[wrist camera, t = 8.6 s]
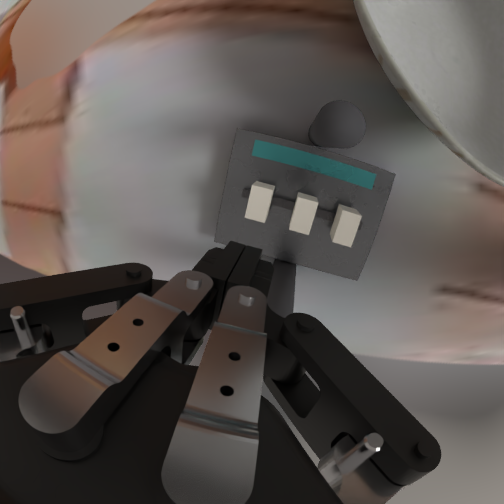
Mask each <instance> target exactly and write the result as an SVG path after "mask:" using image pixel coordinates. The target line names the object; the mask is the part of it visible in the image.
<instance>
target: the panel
mask: <svg viewBox="0 0 504 504" xmlns="http://www.w3.org/2000/svg"><path fill="white" fill-rule="evenodd" d="M394 178H395V174H394V173H391V172H388V171H386V170H383V169H380V168H378V167H375V166H372V165H369V164H367V163H364V162H361V161H358V160H355V159H352V158H349V157H346V156H343V155H340V154H337V153H333V152H330V151H327V150H323V149H320V148H317V147H313V146H309V145H306V144H302V143H298V142H295V141H291V140H287V139H283V138H279V137H274V136H270V135H266V134H261V133H257V132H252V131H247V130H242V129H237V131H236V135H235V140H234V144H233V149H232V153H231V158H230V163H229V168H228V172H227V177H226V182H225V187H224V192H223V197H222V202H221V207H220V213H219V218H218V223H217V229H216V234H215V240H214V242H218V243H221V244H225V245H227V244H228V243H229V242H230V241H234V242H238V243H242V244H245V245H246V246H247V245H249V246H253V247H256V248H260V249H263V250H262V255H265V256H269V257H273V258H276V259H280V260H283V261H287V262H291V263H294V264H298V265H302V266H305V267H309V268H313V269H316V270H320V271H324V272H327V273H331V274H334V275H338V276H342V277H345V278H349V279H353V280H356V281H357V280H358V278H359V276H360V273H361V271H362V268H363V266H364V264H365V261H366V259H367V256H368V253H369V251H370V248H371V246H372V243H373V240H374V238H375V235H376V232H377V230H378V227H379V224H380V221H381V218H382V215H383V212H384V209H385V206H386V203H387V200H388V197H389V194H390V191H391V188H392V184H393V181H394ZM256 181H258V182H262V183H266V184H270V185H274V186H275V189H274V193H273V197H272V201H271V205H270V209H269V213H268V216H267V219H266V221H265V223H263V222H259V221H255V220H251V219H247V218H245V214H246V209H247V205H248V200H249V196H250V191H251V187H252V184H254V183H255V182H256ZM298 192H300V193H304V194H307V195H311V196H314V197H317V200H318V206H317V210H316V213H315V216H314V220H313V223H312V226H311V230H310V233H309V235H306V234H303V233H299V232H296V231H292V230H289V226H290V220H291V216H292V213H293V209H294V206H295V202H296V198H297V195H298ZM339 204H341V205H344V206H347V207H350V208H354V209H357V211H358V212H359V213H360V214H361V216H362V217H361V220H360V223H359V226H358V229H357V232H356V235H355V238H354V240H353V243H352V246H351V247H348V246H344V245H341V244H338V243H334V242H332V239H331V236H330V231H331V228H332V225H333V221H334V218H335V215H336V212H337V209H338V206H339Z"/></svg>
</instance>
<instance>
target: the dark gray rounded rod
mask: <svg viewBox="0 0 504 504" xmlns="http://www.w3.org/2000/svg"><path fill="white" fill-rule="evenodd" d="M365 130H366V123H365V119H364V116H363V114H362V113H361V111H360V110H359V109H358V108H357V107H356V106H355V105H353V104H351V103H349V102H346V101H333V102H330V103H328V104H326V105H325V106H324V107H323V108H322V109H321V110H320V112H319V114H318V115H317V117H316V119H315V120H314V122H313V124H312V125H311V127H310V129H309V138H310V140H311V142H312V143H313V144H315V145H316V146H320V147H332V148H350V147H353V146H355V145H357V144H358V143H359V142H360V141H361V140H362V138H363V137H364V134H365Z"/></svg>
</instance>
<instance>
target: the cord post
mask: <svg viewBox="0 0 504 504" xmlns="http://www.w3.org/2000/svg"><path fill="white" fill-rule="evenodd" d="M273 267H274V272H273V277H272V281H271V285H270V289H269V293H268V297H267V304H268V306H269V307H270V309H271V310H272V311H274V312H275V313H276V314H278V315H280V316H282V317H284V318H286V316H288V315H289V314H292V313H293V306H294V292H295V276H296V264H294V263H291V262H287V261H283V260H280V259H275V261H274V263H273Z"/></svg>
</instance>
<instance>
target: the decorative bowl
mask: <svg viewBox="0 0 504 504" xmlns="http://www.w3.org/2000/svg"><path fill="white" fill-rule="evenodd" d="M353 2H354V6H355V9H356V12H357V15H358V18H359V21H360V24H361V26H362V29H363V31H364V34H365V36H366V38H367V40H368V42H369V45H370V47H371V49H372V51H373V53H374V55H375V57H376V58H377V60H378V62H379V64H380V65H381V67H382V69H383V71H384V72H385V74H386V75H387V77H388V78H389V80H390V82H391V83H392V84H393V86H394V87H395V89H396V90H397V92H398V93H399V94H400V96H401V97H402V98H403V100H404V101H405V102H406V104H407V105H408V106H409V107H410V109H411V110H412V111H413V112H414V113H415V114H416V116H417V117H418V118H419V119H420V120H421V121H422V122H423V123H424V125H425V126H426V127H427V128H428V129H429V130H430V131H431V132H432V133H433V134H434V135H435V136H436V137H437V138H438V139H439V140H440V141H441V142H442V143H443V144H445V145H446V146H447V147H448V148H449V149H450V150H451V151H452V152H453V153H455V154H456V155H457V156H458V157H459V158H461V159H462V160H463V161H464V162H465V163H467V164H468V165H469V166H471V167H472V168H473V169H475V170H476V171H477V172H479V173H480V174H482V175H483V176H485V177H487V178H488V179H490V180H491V181H493V182H495V183H497V184H499V185H501V186H503V187H504V0H353Z"/></svg>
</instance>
